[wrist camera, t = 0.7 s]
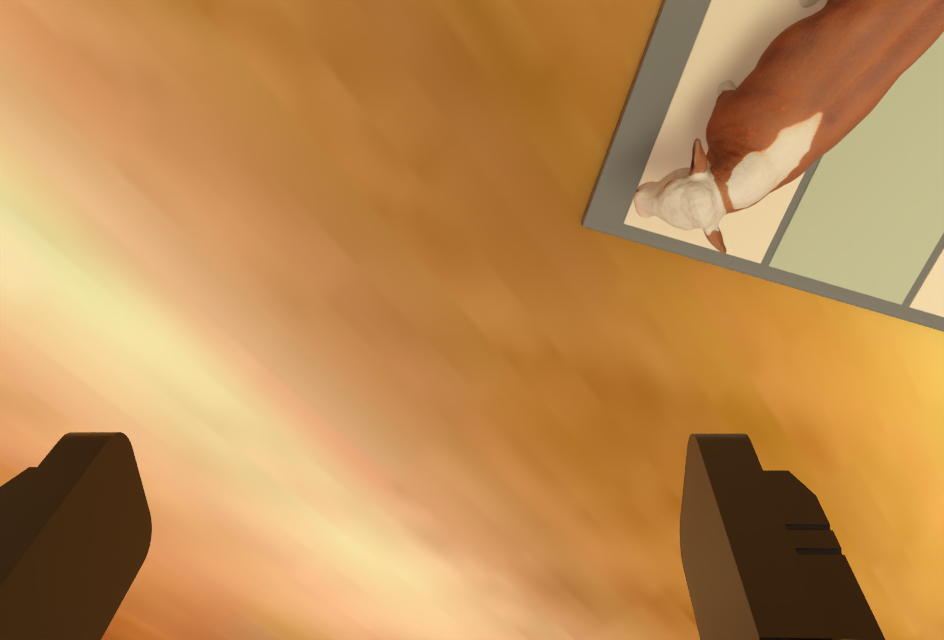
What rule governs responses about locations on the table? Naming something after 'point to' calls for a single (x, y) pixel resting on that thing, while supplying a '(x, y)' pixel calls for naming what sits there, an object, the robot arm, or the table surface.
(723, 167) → the bull figurine
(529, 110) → the table surface
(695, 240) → the game board
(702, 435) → the robot arm
